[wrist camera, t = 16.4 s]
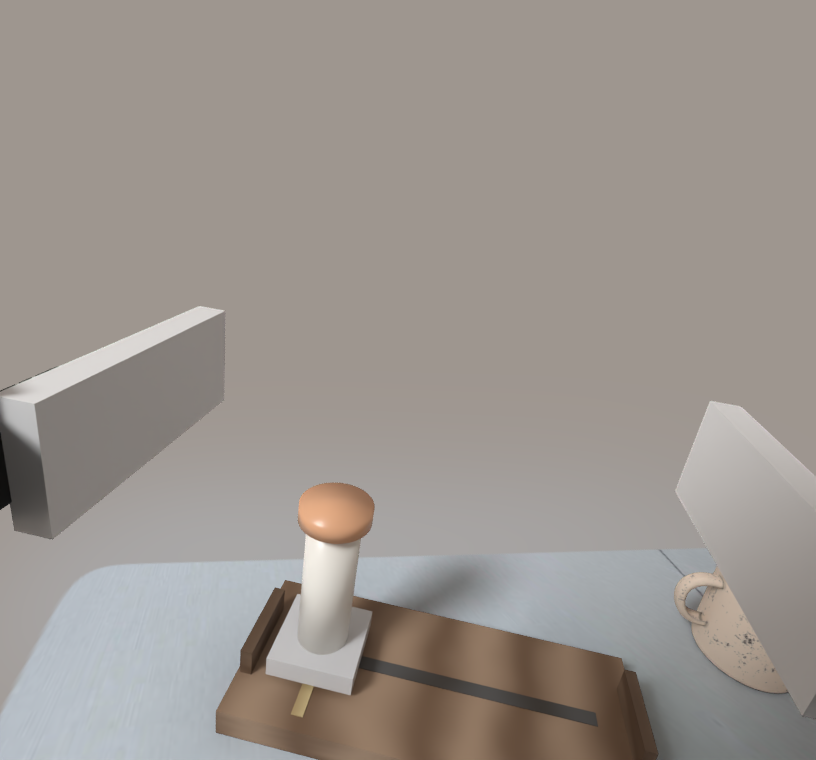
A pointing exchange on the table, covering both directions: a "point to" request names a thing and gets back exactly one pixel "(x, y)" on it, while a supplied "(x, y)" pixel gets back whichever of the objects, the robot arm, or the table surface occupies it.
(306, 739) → the fader track
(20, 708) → the table surface
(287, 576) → the table surface
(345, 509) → the fader
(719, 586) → the teacup with lid
